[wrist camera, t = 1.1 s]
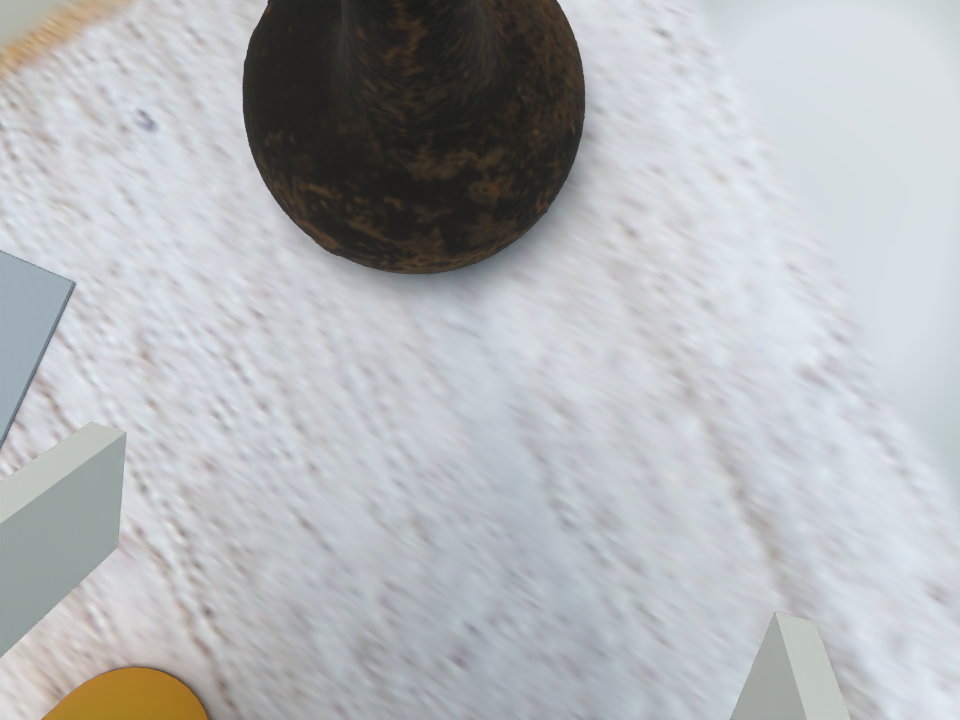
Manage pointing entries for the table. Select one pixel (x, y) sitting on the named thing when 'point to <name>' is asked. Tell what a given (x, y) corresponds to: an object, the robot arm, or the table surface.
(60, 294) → the mat
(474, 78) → the glass bottle
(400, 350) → the table surface
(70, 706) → the beer bottle
